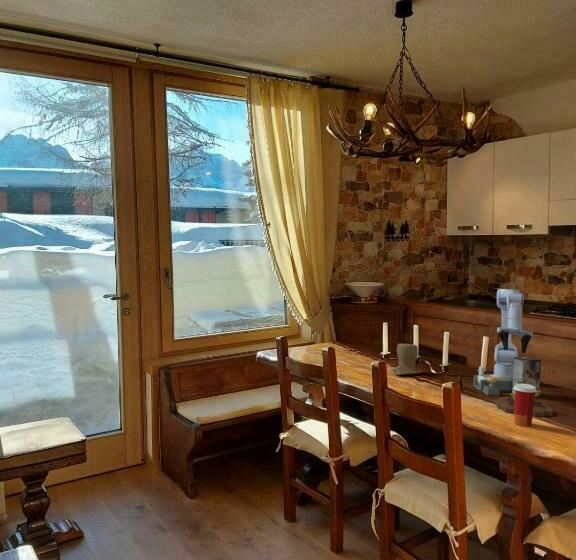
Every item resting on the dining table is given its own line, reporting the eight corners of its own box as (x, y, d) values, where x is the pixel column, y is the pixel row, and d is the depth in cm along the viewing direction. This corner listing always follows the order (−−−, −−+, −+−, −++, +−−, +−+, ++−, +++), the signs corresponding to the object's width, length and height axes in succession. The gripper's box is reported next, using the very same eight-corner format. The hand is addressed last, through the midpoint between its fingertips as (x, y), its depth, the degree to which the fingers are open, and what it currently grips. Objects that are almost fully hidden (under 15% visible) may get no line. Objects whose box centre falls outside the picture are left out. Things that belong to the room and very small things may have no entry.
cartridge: (477, 384, 253) (478, 365, 253) (505, 385, 254) (506, 366, 253) (481, 387, 248) (482, 368, 248) (510, 388, 249) (511, 368, 248)
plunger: (485, 387, 244) (485, 376, 244) (494, 387, 244) (494, 376, 244) (488, 389, 240) (489, 378, 240) (498, 389, 240) (498, 379, 240)
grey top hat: (409, 370, 284) (411, 340, 283) (425, 375, 274) (426, 344, 273) (384, 372, 278) (386, 342, 277) (399, 377, 267) (401, 346, 266)
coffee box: (529, 392, 247) (531, 356, 246) (539, 396, 241) (542, 359, 240) (511, 393, 245) (513, 357, 244) (521, 397, 239) (523, 360, 238)
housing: (473, 386, 255) (473, 375, 255) (507, 387, 256) (508, 376, 256) (486, 395, 240) (487, 383, 240) (523, 396, 241) (524, 384, 240)
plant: (490, 401, 233) (491, 374, 232) (539, 404, 231) (541, 377, 230) (503, 415, 213) (505, 386, 212) (557, 419, 211) (559, 389, 210)
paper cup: (528, 421, 206) (530, 383, 205) (538, 428, 198) (541, 388, 197) (507, 420, 206) (509, 382, 205) (516, 427, 198) (519, 388, 197)
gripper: (502, 315, 236) (502, 346, 231) (536, 320, 236) (536, 352, 232) (495, 319, 242) (494, 350, 238) (528, 324, 243) (528, 355, 238)
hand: (514, 351), depth 235 cm, fingers open, 7 cm apart
